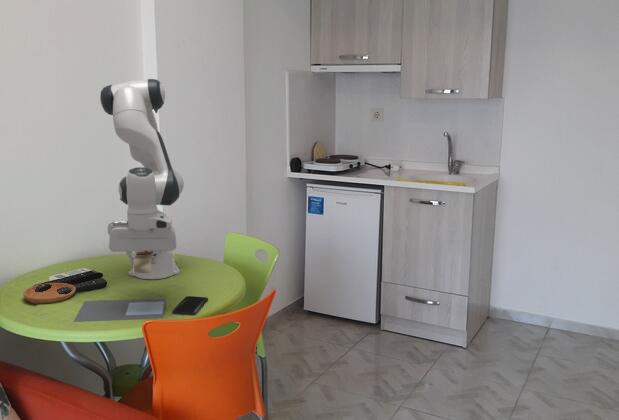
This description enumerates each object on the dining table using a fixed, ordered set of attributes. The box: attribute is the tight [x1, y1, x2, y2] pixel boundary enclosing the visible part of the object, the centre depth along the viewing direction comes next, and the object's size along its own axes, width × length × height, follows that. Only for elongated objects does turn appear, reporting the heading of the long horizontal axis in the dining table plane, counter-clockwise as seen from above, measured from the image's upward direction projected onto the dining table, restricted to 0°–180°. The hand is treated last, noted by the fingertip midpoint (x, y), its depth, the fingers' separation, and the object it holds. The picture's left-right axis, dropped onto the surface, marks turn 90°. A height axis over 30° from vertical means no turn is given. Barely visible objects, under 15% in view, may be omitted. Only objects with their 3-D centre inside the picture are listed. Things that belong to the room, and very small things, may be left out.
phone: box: [171, 295, 209, 317], centre depth 198 cm, size 8×1×15 cm
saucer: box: [22, 282, 76, 305], centre depth 203 cm, size 16×16×3 cm
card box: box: [134, 252, 153, 273], centre depth 191 cm, size 5×9×4 cm, turn 10°
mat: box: [73, 297, 167, 323], centre depth 193 cm, size 18×26×1 cm
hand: (143, 264), depth 191 cm, fingers closed on card box, 5 cm apart
